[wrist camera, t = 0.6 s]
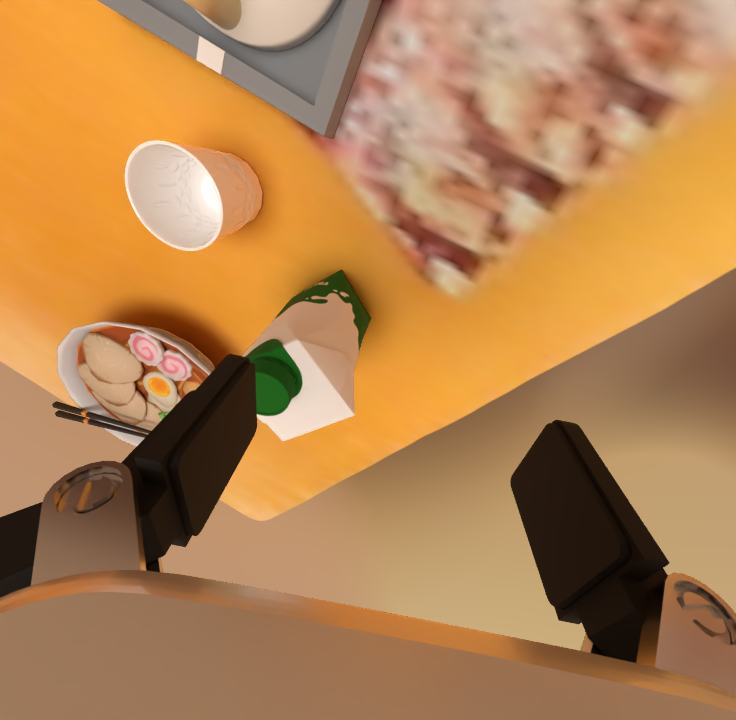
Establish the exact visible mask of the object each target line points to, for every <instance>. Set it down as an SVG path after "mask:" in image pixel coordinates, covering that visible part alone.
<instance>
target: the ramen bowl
mask: <svg viewBox="0 0 736 720" xmlns="http://www.w3.org/2000/svg"><path fill="white" fill-rule="evenodd" d="M214 369H215V367H214V365H213V363H212V362H211V361H210V360H209V359H208V358H207V357H206V356H205V355H204V354H202V353H201V352H200V351H199V350H198V349H197V348H196V347H194V346H193V345H192V344H191V343H189V342H187V341H185V340H183V339H181V338H179V337H177V336H175V335H173V334H171V333H169V332H168V331H166V330H163V329H160V328H155V327H149V326H143V325H137V324H131V323H124V322H116V321H109V322H98V323H94V324H89V325H85V326H81V327H77V328H72V329H71V331H70V332H69V333H68V334H67V336H66V337H65V338H64V339H63V341H62V342H61V343H60V344H59V346H58V347H57V372H58V374H59V376H60V378H61V380H62V382H63V384H64V386H65V388H66V389H67V391H68V393H69V395H70V397H71V399H72V400H73V401H74V402H75V403H76V404H77V405H78V406H79V407H80V408H81V409H80V408H76V407H73V406H70V405H66V404H63V403H60V402H55V403H53V404H52V405H53V407H54V408H58V409H61V410H65V411H68V412H72V413H75V414H79V415H84V416H86V417H89V418H90V419H88V418H86V417H82V416H78V415H75V414H71V413H67V412H64V411H60V410H59V411H57V412H56V413H55V414H56V416H58V417H62V418H66V419H70V420H74V421H78V422H82V423H87V424H90V425H94V426H98V427H102V428H104V429H105V430H107V431H108V432H110V433H111V434H113V435H114V436H116V437H117V438H119V439H120V440H122V441H124V442H127V443H129V444H131V445H134V446H136V447H137V446H138V445H139V444H140V443H141V442H142V440H143V439H144V438H145V437H146V436H147V435H148V434H149V433H150V432H151V431H152V430H153V429H154V428H155V427H156V426H157V425H158V424H159V422H160V421H161V420H162V419H163V418H164V417H165V416H166V415H167V414H168V413H169V412H170V411H171V410H172V409H173V408H174V407H175V406H176V404H177V403H178V402H179V401H180V400H181V399H182V398H183V397H184V396H185V395H186V394H187V393H188V392H190V391H192V390H196V389H197V388H198V387H199V386H200V385H201V383H202V382H203V381H204V380H205V379H206V378H207V377H208V376H209V375H210V374H211V373H212V371H213V370H214Z"/></svg>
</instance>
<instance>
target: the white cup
mask: <svg viewBox="0 0 736 720" xmlns="http://www.w3.org/2000/svg"><path fill="white" fill-rule="evenodd" d="M125 185H126V191H127V195H128V198H129V200H130V203H131V205H132V207H133V209H134V211H135V213H136V215H137V216H138V218H139V219H140V221H141V222H142V223H143V225H144V226H145V227H146V228H147V229H148V230H149V231H150V232H151V233H152V234H153V235H154V236H156V237H157V238H158V239H159V240H161V241H162V242H164V243H166V244H168V245H170V246H172V247H174V248H177V249H180V250H186V251H196V250H201V249H204V248H206V247H208V246H209V245H211V244H213V243H215V242H217V241H219V240H220V239H222V238H224V237H226V236H228V235H230V234H232V233H233V232H235V231H237V230H238V229H240V228H242V227H243V226H244V225H245V224H246V223H248V222H250V221H252V220H254V219H255V217H256V216H257V214H258V212H259V211H260V209H261V207H262V194H263V192H262V189H261V186H260V182H259V179H258V176H257V175H256V174H255V172H254V171H253V170H252V168H251V167H250V166H249V164H248V163H247V162H246V161H244V160H242V159H241V158H239V157H237V156H236V155H234V154H232V153H224V152H220V151H217V150H214V149H209V148H204V147H199V146H194V145H187V144H180V143H174V142H168V141H161V140H153V141H148V142H145V143H143V144H141V145H139V146H138V147H137V148H135V149H134V150H133V152H132V153H131V155H130V156H129V158H128V161H127V164H126V168H125Z"/></svg>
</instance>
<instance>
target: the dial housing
mask: <svg viewBox="0 0 736 720" xmlns="http://www.w3.org/2000/svg"><path fill="white" fill-rule="evenodd" d="M98 1H99V2H101V3H103V4H104V5H106V6H108V7H109V8H111V9H113V10H114V11H116V12H118V13H119V14H121V15H123V16H124V17H126V18H128V19H129V20H131V21H133V22H134V23H136V24H138V25H139V26H141V27H143V28H144V29H146V30H148V31H149V32H151V33H153V34H154V35H156V36H158V37H159V38H161V39H163V40H164V41H166V42H168V43H169V44H171V45H173V46H174V47H176V48H178V49H179V50H181V51H183V52H184V53H186V54H188V55H189V56H191V57H193V58H194V59H196V60H197V61H199V62H201V63H202V64H204V65H206V66H207V67H209V68H211V69H212V70H214V71H216V72H217V73H219V74H221V75H223V76H224V77H226V78H228V79H229V80H231V81H233V82H234V83H236V84H238V85H239V86H241V87H243V88H244V89H246V90H248V91H249V92H251V93H253V94H254V95H256V96H258V97H259V98H261V99H263V100H264V101H266V102H268V103H269V104H271V105H273V106H274V107H276V108H278V109H279V110H281V111H283V112H284V113H286V114H288V115H289V116H291V117H293V118H294V119H296V120H298V121H299V122H301V123H303V124H304V125H306V126H308V127H309V128H311V129H313V130H314V131H316V132H318V133H319V134H321V135H323V136H325V137H328V138H332V139H333V137H334V135H335V132H336V129H337V126H338V123H339V121H340V118H341V115H342V112H343V109H344V106H345V104H346V101H347V98H348V95H349V92H350V90H351V87H352V84H353V81H354V78H355V75H356V73H357V70H358V67H359V64H360V61H361V59H362V56H363V53H364V50H365V47H366V44H367V42H368V39H369V36H370V33H371V30H372V28H373V25H374V22H375V19H376V16H377V13H378V11H379V8H380V5H381V2H382V0H340V1H339V4H338V5H337V7H336V9H335V10H334V12H333V13H332V15H331V16H330V18H329V19H328V20H327V22H326V23H325V24H324V25H323V26H322V28H321V29H320V30H319V31H317V32H316V33H315V34H314V35H313V36H312V37H311V38H309V39H308V40H306V41H305V42H303V43H301V44H300V45H297V46H295V47H292V48H290V49H286V50H281V51H262V50H256V49H253V48H250V47H247V46H244V45H242V44H240V43H238V42H237V41H235V40H233V39H231V38H230V37H228V36H227V35H226V34H224V33H223V32H221V31H220V30H218V29H217V28H216V27H214V26H213V25H212V24H210V23H209V22H208V21H207V20H205V19H204V18H203V17H202V16H201V15H200V14H199V13H198V12H197V11H196V10H195V9H194V8H193V7H191V6H190V5H189V4H187V3H186V2H185V1H183V0H98Z"/></svg>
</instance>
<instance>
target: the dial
mask: <svg viewBox="0 0 736 720" xmlns="http://www.w3.org/2000/svg"><path fill="white" fill-rule="evenodd" d="M183 1H185V2H186V3H187V4H189V5H190V6H191V7H193V8H194V9H195V10H196V11H197V12H198V13H199V14H200V15H201V16H202V17H203V18H204V19H205V20H207V21H208V22H209V23H210V24H212V25H213V26H214V27H216V28H217V29H218V30H220V31H221V32H223V33H224V34H226V35H227V36H228V37H230V38H231V39H233V40H235V41H237V42H238V43H240V44H242V45H244V46H247V47H250V48H253V49H256V50H262V51H281V50H286V49H290V48H292V47H295V46H297V45H300V44H301V43H303V42H305V41H306V40H308V39H309V38H311V37H312V36H313V35H314V34H315V33H316V32H317V31H319V30H320V29H321V28H322V26H323V25H324V24H325V23H326V22H327V20H328V19H329V18H330V16H331V15H332V13H333V12H334V10H335V9H336V7H337V5H338V4H339V1H340V0H183Z"/></svg>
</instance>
